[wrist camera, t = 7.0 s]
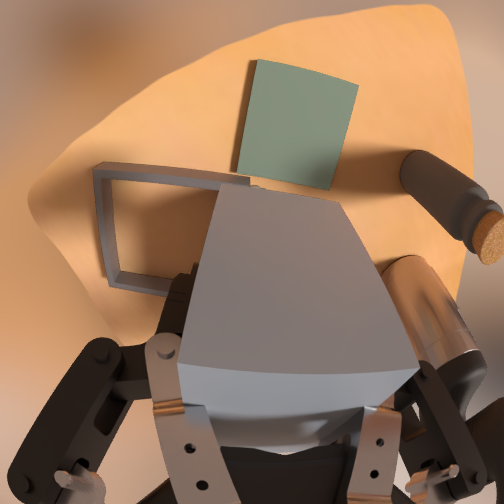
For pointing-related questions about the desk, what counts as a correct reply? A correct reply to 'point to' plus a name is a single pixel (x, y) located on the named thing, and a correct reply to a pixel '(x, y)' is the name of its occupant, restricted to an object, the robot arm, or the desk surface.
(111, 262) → the case
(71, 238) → the desk surface
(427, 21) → the desk surface
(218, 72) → the desk surface
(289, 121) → the mat
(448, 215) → the bottle
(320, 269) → the block
